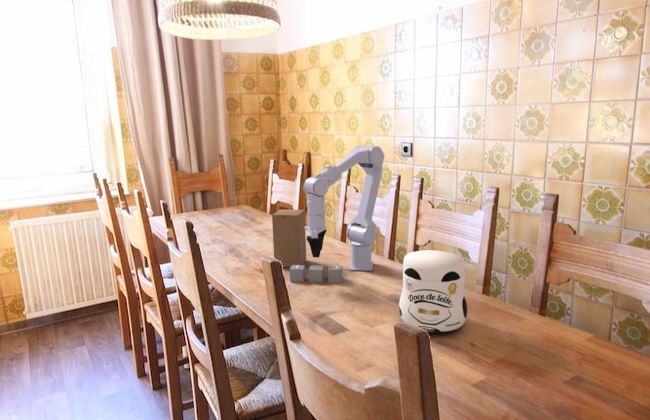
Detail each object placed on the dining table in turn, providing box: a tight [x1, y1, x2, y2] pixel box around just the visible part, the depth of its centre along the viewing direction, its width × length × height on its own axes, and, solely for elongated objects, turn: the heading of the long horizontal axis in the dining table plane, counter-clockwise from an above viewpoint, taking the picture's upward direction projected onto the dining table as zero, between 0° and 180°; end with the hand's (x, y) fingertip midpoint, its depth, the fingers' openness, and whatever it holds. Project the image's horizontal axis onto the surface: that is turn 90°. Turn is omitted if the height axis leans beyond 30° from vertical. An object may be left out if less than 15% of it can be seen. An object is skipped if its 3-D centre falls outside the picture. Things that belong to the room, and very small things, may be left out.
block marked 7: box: [327, 265, 344, 284], centre depth 154 cm, size 4×4×5 cm
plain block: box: [308, 264, 325, 283], centre depth 155 cm, size 4×4×4 cm
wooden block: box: [271, 209, 307, 268], centre depth 172 cm, size 10×10×20 cm
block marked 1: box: [289, 264, 306, 283], centre depth 156 cm, size 4×4×5 cm
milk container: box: [398, 249, 468, 334], centre depth 119 cm, size 17×17×18 cm
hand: (317, 253), depth 153 cm, fingers open, 7 cm apart
